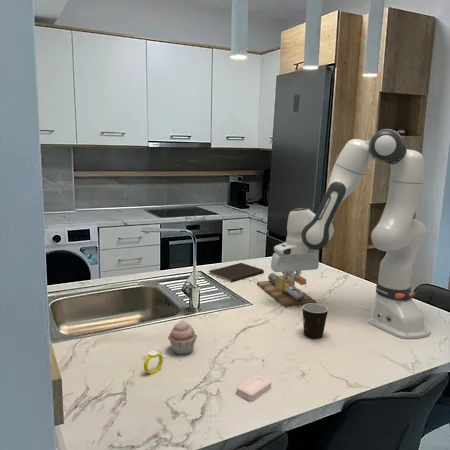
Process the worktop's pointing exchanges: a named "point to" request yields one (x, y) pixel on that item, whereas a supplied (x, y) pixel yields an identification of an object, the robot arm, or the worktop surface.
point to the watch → (150, 355)
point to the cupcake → (182, 338)
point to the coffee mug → (314, 320)
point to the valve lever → (300, 279)
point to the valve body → (286, 286)
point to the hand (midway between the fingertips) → (293, 280)
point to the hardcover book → (236, 272)
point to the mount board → (283, 295)
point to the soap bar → (253, 387)
